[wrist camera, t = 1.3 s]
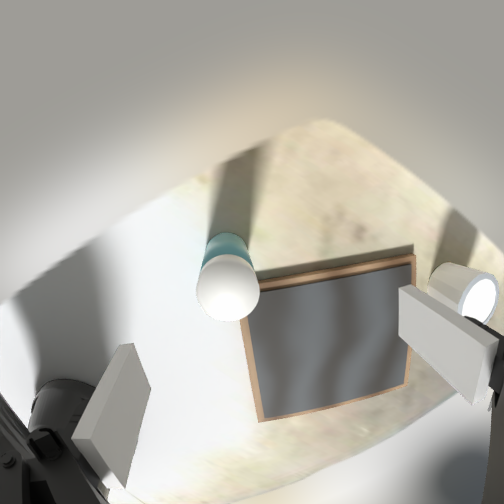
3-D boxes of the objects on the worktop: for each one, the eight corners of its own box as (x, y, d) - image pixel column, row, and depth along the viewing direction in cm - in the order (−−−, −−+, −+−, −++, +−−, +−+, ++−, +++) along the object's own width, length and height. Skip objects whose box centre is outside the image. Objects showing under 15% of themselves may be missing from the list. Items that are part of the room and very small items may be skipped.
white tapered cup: (419, 268, 33) (456, 287, 26) (461, 249, 33) (499, 263, 26) (425, 319, 35) (457, 344, 28) (465, 298, 35) (499, 318, 28)
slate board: (257, 417, 36) (258, 424, 34) (233, 284, 32) (234, 288, 30) (403, 381, 37) (408, 386, 35) (411, 253, 33) (417, 255, 31)
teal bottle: (209, 276, 31) (202, 325, 21) (202, 236, 30) (190, 267, 20) (250, 269, 31) (263, 316, 21) (244, 229, 31) (255, 256, 20)
